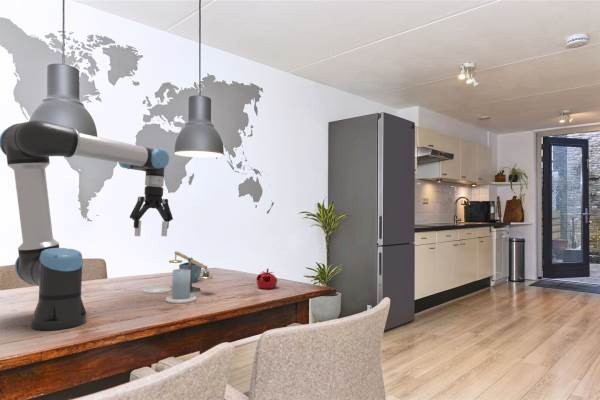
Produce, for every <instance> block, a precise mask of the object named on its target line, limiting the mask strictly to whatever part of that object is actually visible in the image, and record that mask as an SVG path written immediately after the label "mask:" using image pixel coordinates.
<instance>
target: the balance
mask: <svg viewBox="0 0 600 400" xmlns="http://www.w3.org/2000/svg"><path fill="white" fill-rule="evenodd" d="M177 256H178V257H180V258H182V259H184V260H186V261H187V262H188V269H189V270H191V273H190V294H191V293H196V292H200V291H201V288H200V287H196V286H193V282H192V264H193V263H194V264H196V265H198V266H200V267H202V268H201V269H203V270H205V271H203V272H202V275H200V276H199V278H198V280H211V279H213V278H214V276H213V275H210V271H209V270H208V265H205V264H203V263H202V262H199V261H197V260H196V259H193V257H189V256H188V255H185V254H184V253H182V252H179V251H174V259H172V260H171V259H170V260H168V263H169V264H182V263H183V260H181V259H177ZM201 263H202V264H201Z"/></svg>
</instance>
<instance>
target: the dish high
mask: <svg viewBox="0 0 600 400" xmlns="http://www.w3.org/2000/svg"><path fill="white" fill-rule="evenodd" d="M142 292H143V294H148V295H158V294H159V295H160V294H166V293H167V294H168V293H170V292H172V286H166V285H155V286H147V287H144V288H143V289H142Z"/></svg>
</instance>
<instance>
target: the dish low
mask: <svg viewBox="0 0 600 400" xmlns="http://www.w3.org/2000/svg"><path fill="white" fill-rule="evenodd" d="M196 301H197V296H196V295H194V294H190V298H187V299H173V298H172V295H169V296H166V297H165V302H166V303H167V304H177V305H179V304H188V303H189V304H190V303H194V302H196Z"/></svg>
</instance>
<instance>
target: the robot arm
mask: <svg viewBox="0 0 600 400" xmlns="http://www.w3.org/2000/svg"><path fill="white" fill-rule="evenodd" d="M0 150H1V151H2V153H3V154H4V155H5V156H6V163H7V166H8V167H9V168H11V169H12V170H13V173H14V180H15V182H14V183H15V190H16V196H17V205H18V214H19V215H18V216H19V222H20V229H21V238H22V243H21V244H20V245H19V246H18V247H17V251H18V257H17V258H16V260H15V263H14V271H15V274H16V275H17V277H18V278H19V279H20V280H22V281H23V282H25V283H27V284H29V285H33V286H38V300H37V304H36V306H35V309H34V311H33V315H32V316H31V319H30V327H31V328H32V329H33V330H38V331H57V330H64V329H70V328H74V327H78V326H81V325H82V324H85V323H86V322H87V317H88V316H87V315H88V314H87V312H86V309H85V305H84V302H83V299H82V287H83V286H82V285H83V284H82V282H83V281H82V280H83V264H84V262H83V254H82V252H81V251H80V250H77V249H74V248H67V247H60V243H59V242H58V241H57V240H56V239H54V234H53V227H52V226H53V225H52V218H51V210H50V200H49V192H48V190H49V189H48V183H47V174H46V168H47V167H48V166H50V164H51V163H50V157H64V158H72V157H74V156H76V157H83V158H89V159H96V160H102V161H105V162H106V161H107V162H108V161H109V162H114V163H118V165H119V166H120V167H121V168H122V169H127V170H133V171H142V172H145V180H144V196H138V197H137V201H136V204H135V205H134V207H133V209H132V211H131V213H130V214H129V219H132V221H133V228H134V237H141V234H142V233H141V231H142V230H141V229H142V220H141V218H143V216H144V215H145V213H146V212H147V211H148V210H149V209H156V210H157V211H158V213H159V215H160V217H161V218H162V221H161V233H160V234H161V237H168V229H169V224H170V223H169V222H171V221H173V220H174V218H173V214H172V212H171V208H170V205H169V199H168V198H162V197H163V196H164V188H163V187H164V184H165V181H164V180H165V170H166V167H167V166H168V165H169V161H170V156H169V154H168V152H167V150H165V149H163V148H159V147H158V148H150V147H146V146H145V147H144V146H140V145H136V144H131V143H127V142H124V141H123V142H122V141H118V140H113V139H109V138H104V137H99V136H95V135H92V134H91V135H90V134H87V133H81V132H78V130H77V129H76V128H73V127H68V126H64V125H61V124H57V123H53V122H49V121H44V120H29V121H26V122H19V123H16V124H12V125H10V126H9V127H7V128H4V130H3V131H2V132H1V134H0Z"/></svg>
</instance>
